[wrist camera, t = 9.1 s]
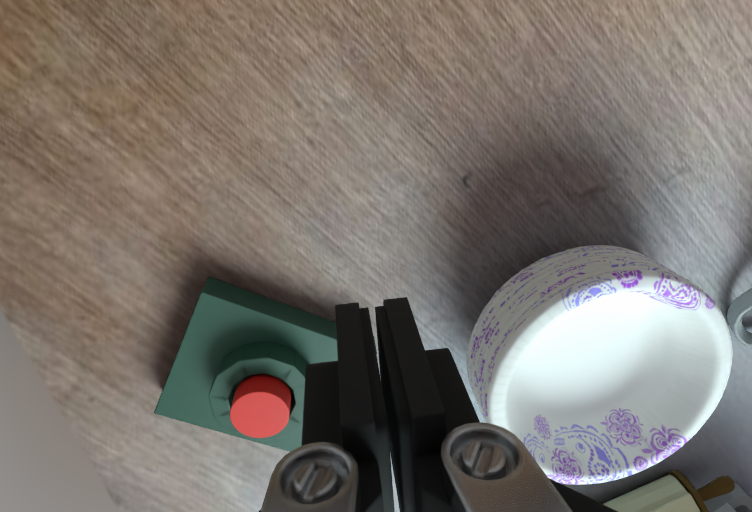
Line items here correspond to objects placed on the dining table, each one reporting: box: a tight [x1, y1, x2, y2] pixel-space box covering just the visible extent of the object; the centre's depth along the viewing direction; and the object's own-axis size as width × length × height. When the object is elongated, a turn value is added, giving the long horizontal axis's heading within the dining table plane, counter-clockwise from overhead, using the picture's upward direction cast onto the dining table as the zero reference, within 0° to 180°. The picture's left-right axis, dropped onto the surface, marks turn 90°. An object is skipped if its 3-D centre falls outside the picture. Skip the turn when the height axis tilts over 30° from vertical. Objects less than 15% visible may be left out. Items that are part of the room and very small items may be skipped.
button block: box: [154, 277, 377, 452], centre depth 33 cm, size 12×10×4 cm
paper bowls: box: [467, 245, 733, 485], centre depth 32 cm, size 15×15×8 cm
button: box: [230, 374, 291, 438], centre depth 31 cm, size 4×4×2 cm
